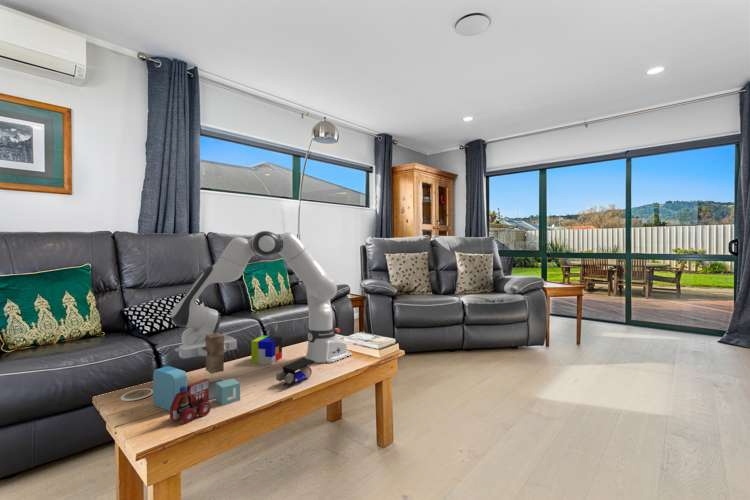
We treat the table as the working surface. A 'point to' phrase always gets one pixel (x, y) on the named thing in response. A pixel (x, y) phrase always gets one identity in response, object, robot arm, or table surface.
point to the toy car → (293, 376)
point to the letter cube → (227, 391)
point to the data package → (167, 385)
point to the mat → (213, 389)
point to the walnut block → (215, 353)
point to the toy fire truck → (191, 401)
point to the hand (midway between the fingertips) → (215, 352)
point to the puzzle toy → (266, 349)
